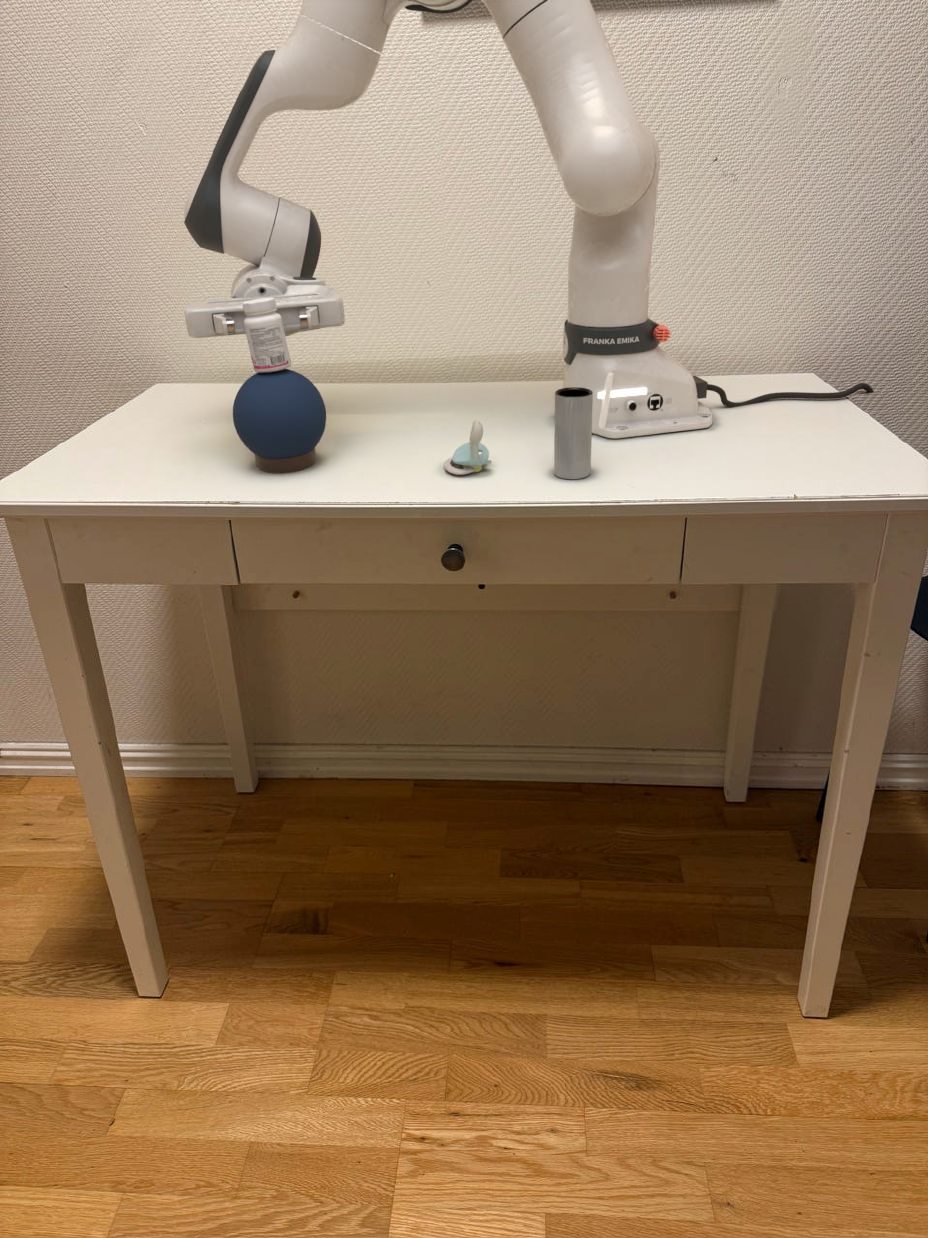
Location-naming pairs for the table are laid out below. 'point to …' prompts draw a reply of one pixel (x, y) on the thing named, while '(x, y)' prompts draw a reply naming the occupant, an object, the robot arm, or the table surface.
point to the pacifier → (470, 453)
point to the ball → (279, 414)
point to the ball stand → (286, 463)
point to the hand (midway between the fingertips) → (267, 325)
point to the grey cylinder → (573, 432)
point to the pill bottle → (265, 336)
